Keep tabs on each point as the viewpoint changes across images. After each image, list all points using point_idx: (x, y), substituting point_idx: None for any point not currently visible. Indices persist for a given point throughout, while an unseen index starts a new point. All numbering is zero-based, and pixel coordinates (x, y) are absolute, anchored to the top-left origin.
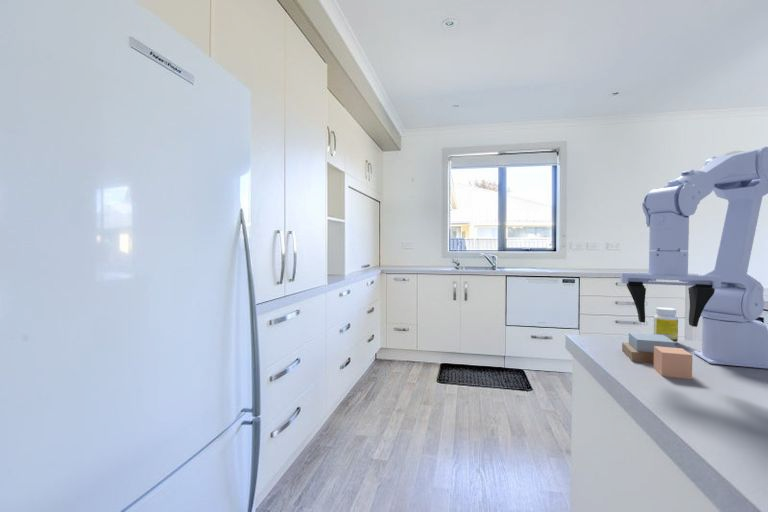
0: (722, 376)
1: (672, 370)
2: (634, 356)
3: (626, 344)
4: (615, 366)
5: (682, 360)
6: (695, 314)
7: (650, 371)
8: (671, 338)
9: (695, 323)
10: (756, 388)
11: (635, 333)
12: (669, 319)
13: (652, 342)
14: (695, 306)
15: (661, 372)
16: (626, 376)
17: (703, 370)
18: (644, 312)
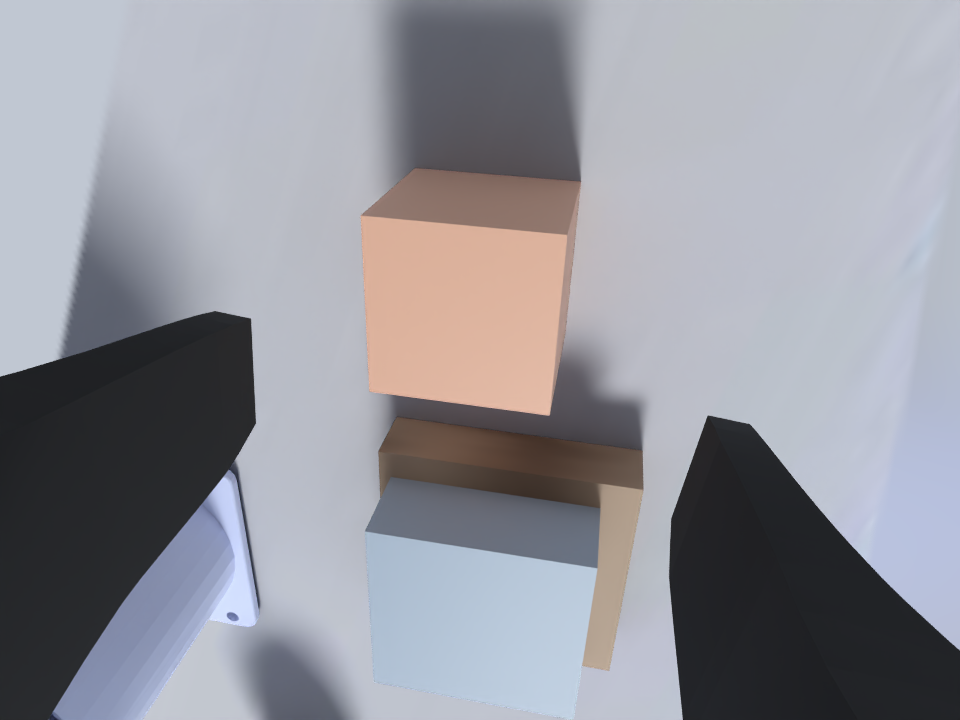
0: (235, 274)
1: (513, 187)
2: (626, 467)
3: (601, 635)
4: (818, 315)
5: (437, 205)
6: (141, 357)
7: (614, 262)
8: None
9: (206, 322)
10: (129, 98)
11: (537, 703)
12: None
13: (500, 542)
14: (61, 415)
15: (579, 190)
16: (856, 90)
17: (297, 358)
18: (746, 481)
